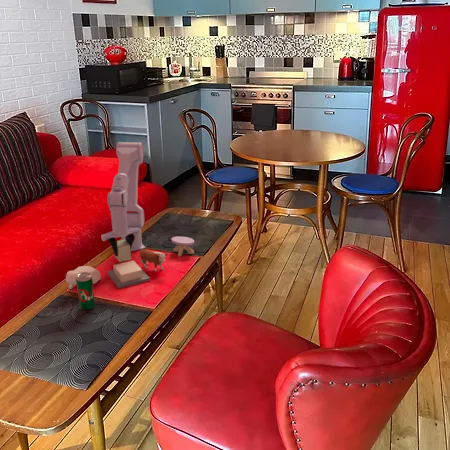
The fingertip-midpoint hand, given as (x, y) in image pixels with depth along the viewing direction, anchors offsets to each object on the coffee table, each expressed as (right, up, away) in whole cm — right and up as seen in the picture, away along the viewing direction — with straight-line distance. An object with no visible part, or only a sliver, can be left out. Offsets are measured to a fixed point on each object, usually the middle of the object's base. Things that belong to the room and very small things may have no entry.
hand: (122, 253), depth 195 cm
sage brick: (0, -2, +1) cm, 2 cm away
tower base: (+4, -8, -9) cm, 13 cm away
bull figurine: (+13, -6, -2) cm, 14 cm away
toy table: (+23, 0, +12) cm, 26 cm away
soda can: (-6, -16, -28) cm, 33 cm away
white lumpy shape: (-11, -11, -15) cm, 22 cm away
